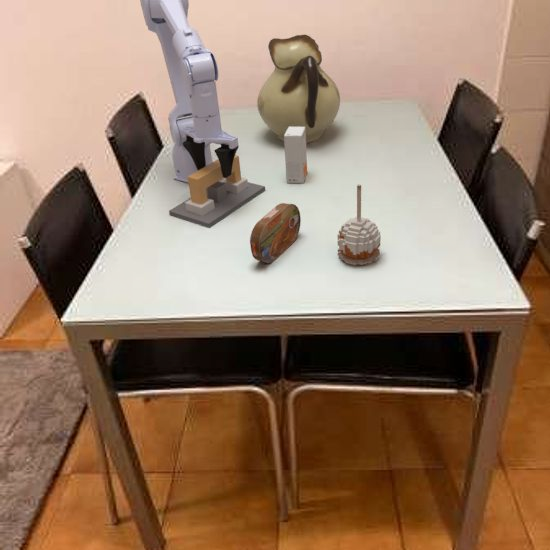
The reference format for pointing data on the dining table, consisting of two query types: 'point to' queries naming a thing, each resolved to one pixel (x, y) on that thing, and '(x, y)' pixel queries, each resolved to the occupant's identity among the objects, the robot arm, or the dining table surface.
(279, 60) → the beige sack vase
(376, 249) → the caramel apple
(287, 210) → the tin
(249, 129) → the dining table surface
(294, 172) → the skincare box
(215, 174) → the frame
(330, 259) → the dining table surface
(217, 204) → the stand
